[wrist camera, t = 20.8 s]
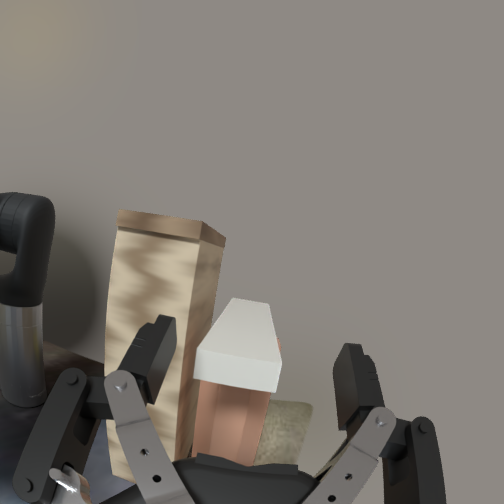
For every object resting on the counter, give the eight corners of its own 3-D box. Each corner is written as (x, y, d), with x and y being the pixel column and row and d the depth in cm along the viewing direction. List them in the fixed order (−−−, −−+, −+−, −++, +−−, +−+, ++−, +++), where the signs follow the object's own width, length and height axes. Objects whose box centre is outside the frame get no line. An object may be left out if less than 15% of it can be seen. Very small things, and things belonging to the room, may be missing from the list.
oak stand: (111, 476, 22) (119, 209, 23) (152, 418, 39) (172, 229, 40) (171, 497, 22) (202, 221, 23) (197, 430, 39) (226, 237, 40)
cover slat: (193, 377, 15) (197, 348, 15) (230, 311, 38) (232, 297, 38) (275, 392, 15) (282, 363, 15) (266, 317, 38) (268, 303, 38)
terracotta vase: (185, 495, 23) (202, 339, 23) (195, 463, 30) (214, 322, 31) (243, 506, 23) (282, 353, 23) (245, 472, 30) (277, 333, 30)
